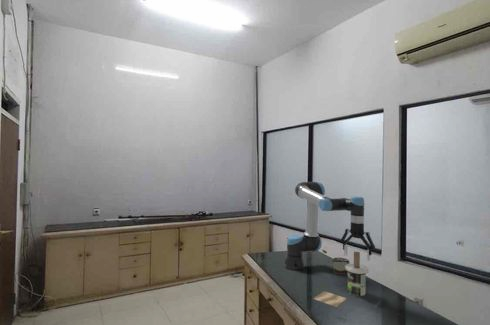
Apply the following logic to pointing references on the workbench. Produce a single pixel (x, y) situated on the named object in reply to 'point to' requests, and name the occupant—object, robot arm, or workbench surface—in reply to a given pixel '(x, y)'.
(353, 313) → the workbench surface
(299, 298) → the workbench surface
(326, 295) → the mat
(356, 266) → the lid
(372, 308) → the workbench surface
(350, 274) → the coffee can
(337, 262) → the food container
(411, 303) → the workbench surface
